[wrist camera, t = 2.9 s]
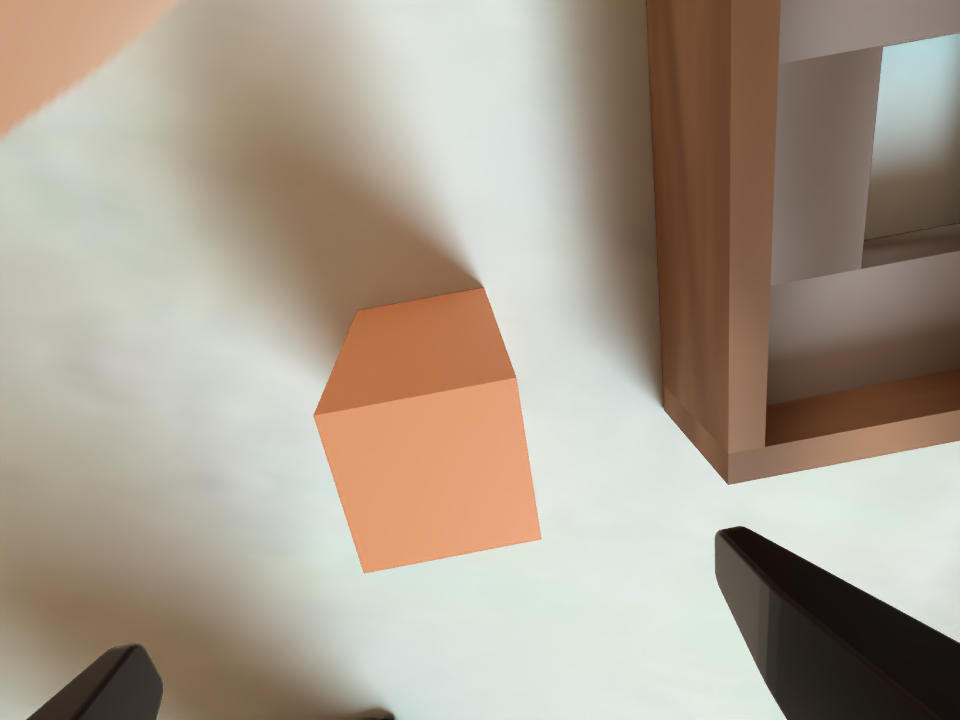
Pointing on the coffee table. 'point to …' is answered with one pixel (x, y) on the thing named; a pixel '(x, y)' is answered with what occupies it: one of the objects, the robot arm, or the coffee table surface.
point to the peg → (427, 433)
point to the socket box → (792, 239)
